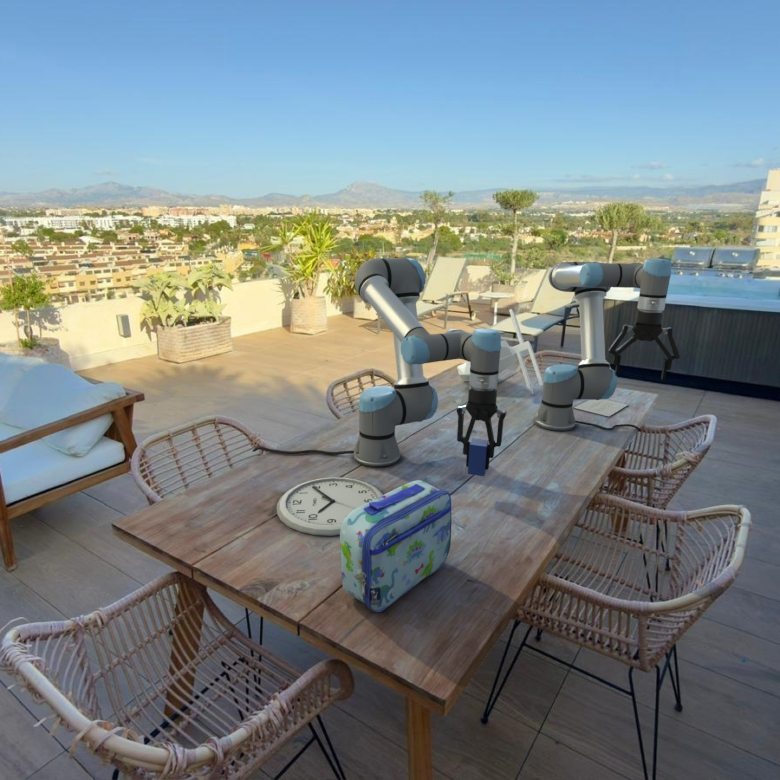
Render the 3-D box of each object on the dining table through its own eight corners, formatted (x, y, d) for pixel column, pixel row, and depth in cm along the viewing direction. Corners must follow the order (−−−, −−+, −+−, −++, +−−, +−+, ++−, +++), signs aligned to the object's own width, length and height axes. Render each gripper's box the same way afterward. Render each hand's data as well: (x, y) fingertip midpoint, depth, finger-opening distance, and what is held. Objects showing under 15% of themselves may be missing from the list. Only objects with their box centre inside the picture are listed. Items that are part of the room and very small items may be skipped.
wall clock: (392, 527, 129) (268, 531, 127) (391, 533, 130) (269, 537, 127) (383, 473, 158) (282, 475, 155) (383, 478, 158) (282, 480, 156)
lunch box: (369, 626, 100) (370, 530, 93) (334, 598, 107) (332, 507, 101) (455, 567, 117) (460, 483, 111) (419, 547, 124) (423, 467, 118)
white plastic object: (478, 423, 260) (457, 400, 235) (460, 349, 282) (438, 321, 257) (551, 399, 247) (536, 372, 223) (525, 323, 270) (510, 291, 245)
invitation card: (608, 416, 214) (573, 407, 224) (608, 416, 214) (573, 408, 224) (628, 404, 229) (594, 396, 238) (628, 405, 229) (594, 397, 238)
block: (467, 474, 146) (469, 444, 144) (470, 467, 151) (472, 438, 148) (484, 476, 145) (486, 446, 142) (486, 469, 149) (488, 440, 147)
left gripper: (447, 387, 139) (443, 467, 146) (515, 394, 135) (508, 476, 142) (452, 380, 146) (448, 456, 153) (517, 386, 142) (510, 465, 148)
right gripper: (607, 309, 161) (598, 376, 167) (698, 315, 153) (685, 384, 160) (606, 306, 168) (597, 370, 174) (693, 311, 160) (680, 378, 167)
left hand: (477, 466), depth 147 cm, fingers closed on block, 5 cm apart
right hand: (639, 377), depth 167 cm, fingers open, 13 cm apart
